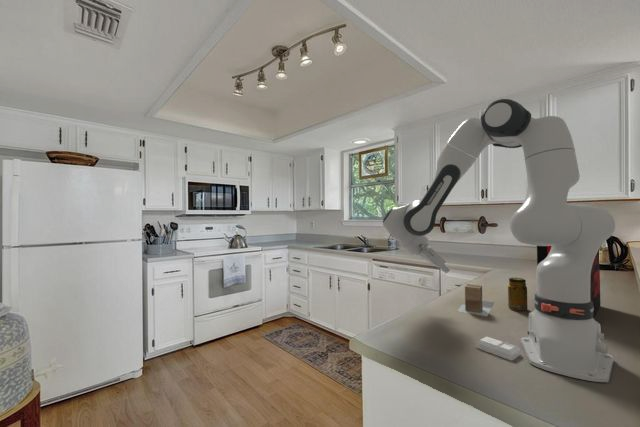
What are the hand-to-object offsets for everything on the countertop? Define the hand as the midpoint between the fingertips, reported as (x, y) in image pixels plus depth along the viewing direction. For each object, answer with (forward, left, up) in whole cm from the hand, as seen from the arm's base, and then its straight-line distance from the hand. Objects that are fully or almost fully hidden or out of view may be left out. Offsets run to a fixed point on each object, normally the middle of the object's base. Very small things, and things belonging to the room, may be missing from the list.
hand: (442, 268), depth 111 cm
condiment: (+16, -23, -16) cm, 33 cm away
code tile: (+6, -9, -16) cm, 19 cm away
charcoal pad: (+17, -10, -16) cm, 25 cm away
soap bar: (-26, -20, -17) cm, 37 cm away
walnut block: (+6, -9, -16) cm, 19 cm away
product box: (+28, -38, -16) cm, 50 cm away
